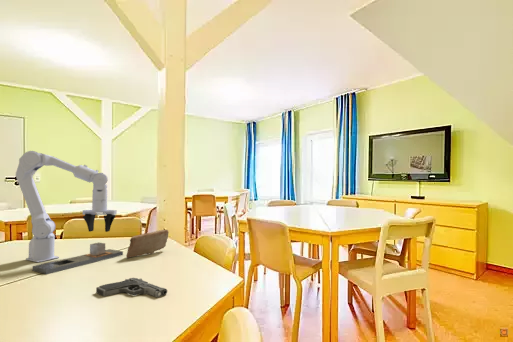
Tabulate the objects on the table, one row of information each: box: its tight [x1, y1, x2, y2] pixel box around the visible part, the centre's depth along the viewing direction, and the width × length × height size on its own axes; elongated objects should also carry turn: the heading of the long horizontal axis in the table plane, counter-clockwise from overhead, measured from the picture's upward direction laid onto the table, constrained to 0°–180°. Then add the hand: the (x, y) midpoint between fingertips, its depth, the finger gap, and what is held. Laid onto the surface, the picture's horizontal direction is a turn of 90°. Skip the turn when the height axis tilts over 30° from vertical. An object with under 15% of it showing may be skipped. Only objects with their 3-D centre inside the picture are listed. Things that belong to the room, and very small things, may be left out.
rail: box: [31, 248, 124, 275], centre depth 116 cm, size 9×30×2 cm, turn 152°
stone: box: [125, 229, 169, 259], centre depth 128 cm, size 19×10×4 cm
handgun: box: [95, 277, 168, 298], centre depth 83 cm, size 2×17×12 cm
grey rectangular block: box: [89, 242, 106, 256], centre depth 122 cm, size 4×4×6 cm
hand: (99, 231), depth 129 cm, fingers open, 7 cm apart
